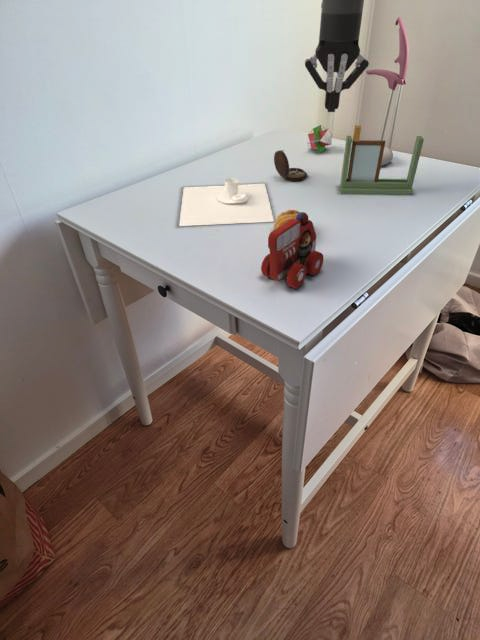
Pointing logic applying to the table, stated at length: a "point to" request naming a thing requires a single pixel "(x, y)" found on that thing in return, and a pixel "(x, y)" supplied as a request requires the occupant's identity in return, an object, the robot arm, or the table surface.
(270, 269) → the toy fire truck
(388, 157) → the donut
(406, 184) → the window frame
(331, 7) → the robot arm
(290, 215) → the pastry
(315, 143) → the geometric puzzle
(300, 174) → the compass
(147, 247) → the table surface
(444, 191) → the table surface
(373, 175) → the sash
